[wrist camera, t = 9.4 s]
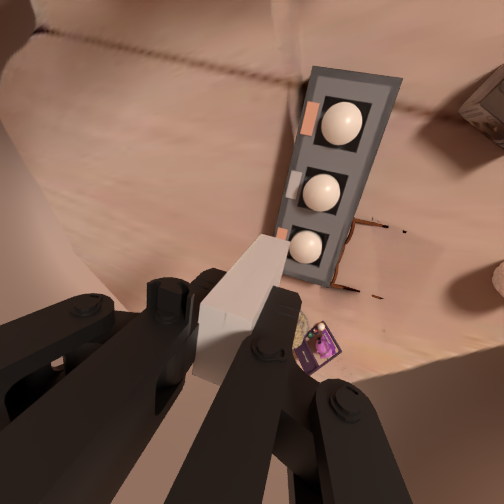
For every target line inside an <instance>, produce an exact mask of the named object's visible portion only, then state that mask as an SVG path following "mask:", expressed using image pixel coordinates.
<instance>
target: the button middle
mask: <svg viewBox="0 0 504 504" xmlns="http://www.w3.org/2000/svg"><path fill="white" fill-rule="evenodd" d="M339 196H340V188H339V184H338V182H337V180H336V179H335V178H334V177H333V176H331V175H329V174H325V173H322V174H317V175H315V176H313V177H312V178H311V179H310V180H309V181H308V182H307V184H306V185H305V187H304V190H303V199H304V201H305V203H306V205H307V206H308V207H309V208H310V209H312V210H315V211H320V212H321V211H327V210H329V209H331V208H332V207H333V206H335V204H336V203H337V201H338V199H339Z"/></svg>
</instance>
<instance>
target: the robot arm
mask: <svg viewBox="0 0 504 504" xmlns="http://www.w3.org/2000/svg"><path fill="white" fill-rule="evenodd" d="M289 246H290V241H286V240H282V239H279V238H275V237H271V236H268V235H264V234H260V236H259V237H258V238H257V239H256V240H255V241H254V242H253V244H252V245H251V246H250V247H249V248H248V249H247V250H246V252H245V253H244V254H243V255H242V256H241V257H240V258H239V260H238V261H237V262H236V263H235V264H234V265H233V266H232V268H231V269H230V270H229V271H228V272H225V271H222V270H219V269H216V268H211V269H209V270H206V271H203V272H202V273H201V274H200V275H199V276H198V277H196V279H194V280H193V281H192V282H191V283H189V282H186V281H184V280H182V279H178V278H173V277H163V278H159V279H154V280H152V281H150V282H148V283H147V308H146V309H145V310H144V311H142V312H141V313H134V312H125V311H115V310H114V301H113V300H112V299H111V298H110V297H108V296H106V295H103V294H95V293H91V294H82V295H78V296H75V297H71V298H69V299H67V300H64V301H61V302H59V303H56V304H54V305H51V306H49V307H46V308H44V309H41V310H38V311H36V312H33V313H31V314H28V315H26V316H23V317H21V318H18V319H16V320H13V321H10V322H8V323H5V324H3V325H0V504H110V503H111V502H112V500H113V498H114V497H115V495H116V494H117V492H118V490H119V489H120V487H121V486H122V484H123V482H124V481H125V479H126V478H127V476H128V474H129V473H130V471H131V470H132V468H133V467H134V465H135V463H136V462H137V460H138V459H139V457H140V456H141V454H142V452H143V451H144V449H145V448H146V446H147V444H148V443H149V441H150V440H151V438H152V437H153V435H154V433H155V432H156V430H157V429H158V427H159V425H160V424H161V422H162V421H163V419H164V418H165V416H166V414H167V413H168V411H169V410H170V408H171V406H172V405H173V403H174V402H175V400H176V399H177V397H178V395H179V394H180V392H181V390H182V388H183V386H184V383H185V376H186V373H187V371H188V370H189V368H190V367H191V365H192V364H193V370H192V375H194V376H197V377H200V378H202V379H204V380H207V381H210V382H212V383H214V384H217V385H219V386H220V388H219V391H218V393H217V395H216V397H215V399H214V401H213V403H212V405H211V407H210V409H209V411H208V413H207V415H206V417H205V419H204V421H203V423H202V426H201V428H200V430H199V432H198V434H197V436H196V438H195V440H194V442H193V444H192V446H191V448H190V450H189V453H188V454H187V457H186V459H185V461H184V463H183V465H182V467H181V469H180V471H179V473H178V475H177V477H176V479H175V481H174V483H173V485H172V488H171V489H170V492H169V494H168V496H167V498H166V500H165V502H164V504H262V500H263V495H264V490H265V485H266V480H267V475H268V470H269V466H270V460H271V455H272V454H273V455H275V456H276V457H277V458H278V459H279V460H280V461H281V462H282V463H283V464H285V465H286V466H287V473H288V489H289V504H413V503H412V500H411V498H410V495H409V493H408V491H407V488H406V485H405V483H404V480H403V478H402V475H401V473H400V470H399V468H398V465H397V463H396V460H395V458H394V455H393V453H392V450H391V448H390V445H389V443H388V440H387V438H386V435H385V433H384V430H383V427H382V425H381V422H380V420H379V418H378V415H377V412H376V410H375V408H374V407H373V405H372V403H371V401H370V400H369V398H368V397H366V395H365V394H364V393H363V392H362V391H361V390H360V389H358V388H357V387H355V386H354V385H352V384H351V383H349V382H346V381H343V380H340V379H327V380H325V381H323V382H321V383H319V382H318V381H316V380H315V379H313V378H312V377H310V376H309V375H308V374H307V373H305V372H304V371H303V370H302V369H301V368H300V367H299V366H298V364H297V363H296V361H295V359H294V357H293V353H292V346H293V342H294V337H295V332H296V328H297V323H298V318H299V313H300V309H301V304H302V301H301V299H300V296H299V294H298V293H296V292H293V291H289V290H286V289H283V288H280V287H279V284H280V280H281V276H282V273H283V269H284V265H285V261H286V257H287V253H288V250H289ZM61 356H63V362H64V364H62V365H59V366H57V367H51V362H52V361H54V360H56V359H58V358H60V357H61Z"/></svg>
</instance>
